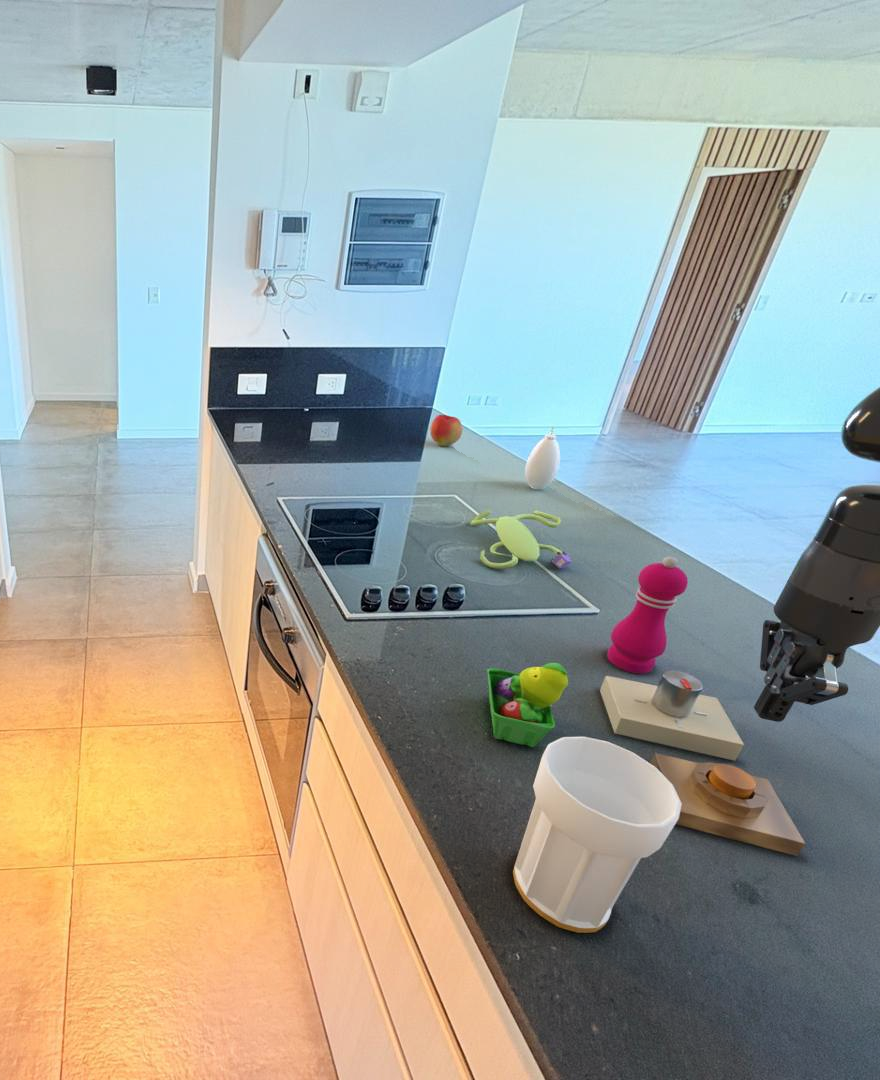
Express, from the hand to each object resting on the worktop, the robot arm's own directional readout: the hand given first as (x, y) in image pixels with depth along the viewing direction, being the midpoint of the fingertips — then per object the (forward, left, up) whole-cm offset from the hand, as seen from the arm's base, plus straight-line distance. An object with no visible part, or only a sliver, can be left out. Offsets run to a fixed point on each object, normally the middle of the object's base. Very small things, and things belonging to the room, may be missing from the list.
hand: (767, 716), depth 71 cm
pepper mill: (+3, -30, -15) cm, 34 cm away
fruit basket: (+22, -7, -15) cm, 27 cm away
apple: (+32, -144, -15) cm, 148 cm away
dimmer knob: (+2, -15, -12) cm, 19 cm away
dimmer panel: (+2, -15, -15) cm, 21 cm away
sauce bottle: (+8, -111, -15) cm, 113 cm away
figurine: (+16, -70, -15) cm, 73 cm away
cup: (+20, +20, -15) cm, 32 cm away
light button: (0, 0, -11) cm, 11 cm away
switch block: (0, 0, -15) cm, 15 cm away
